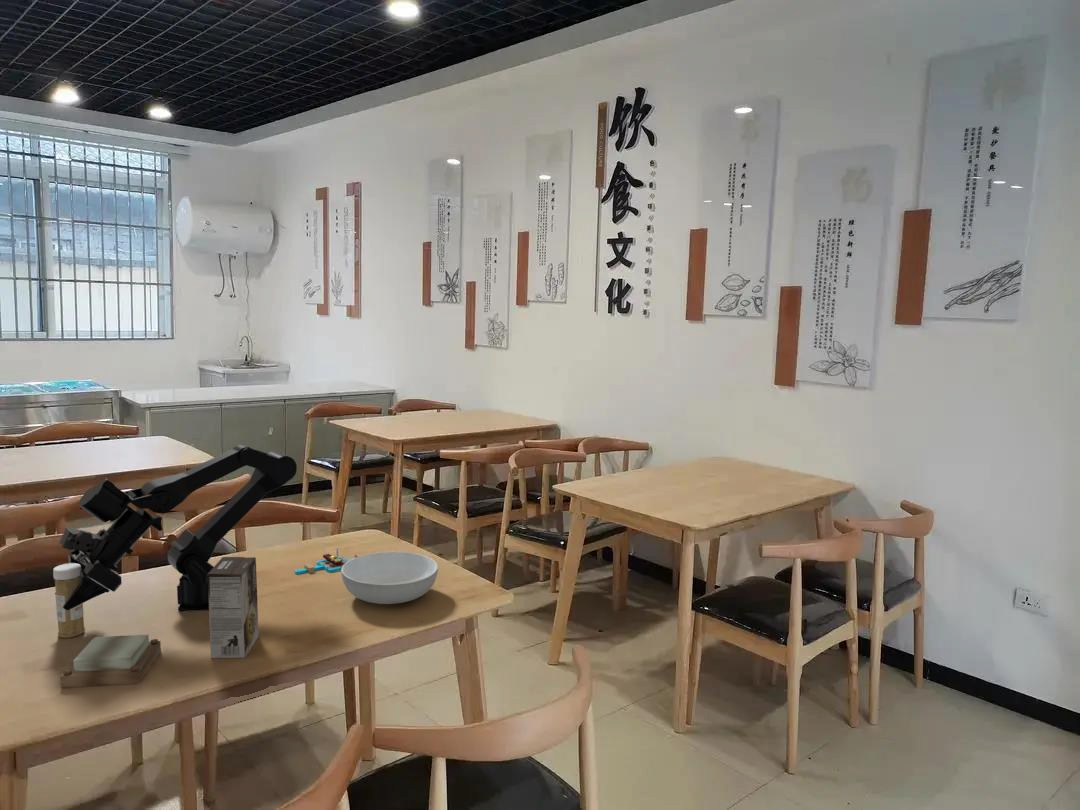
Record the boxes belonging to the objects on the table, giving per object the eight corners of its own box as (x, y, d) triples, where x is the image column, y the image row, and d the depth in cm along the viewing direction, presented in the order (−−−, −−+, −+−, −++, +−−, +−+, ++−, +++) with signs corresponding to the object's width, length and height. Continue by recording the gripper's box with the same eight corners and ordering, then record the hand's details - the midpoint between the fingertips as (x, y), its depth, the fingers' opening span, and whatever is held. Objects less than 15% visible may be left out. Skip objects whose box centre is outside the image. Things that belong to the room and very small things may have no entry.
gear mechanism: (286, 569, 187) (301, 580, 180) (286, 548, 186) (301, 558, 179) (363, 553, 199) (379, 563, 192) (362, 533, 199) (379, 542, 191)
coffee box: (225, 637, 148) (222, 556, 146) (259, 636, 149) (257, 555, 147) (209, 659, 139) (205, 573, 137) (245, 658, 140) (243, 572, 138)
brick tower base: (160, 651, 142) (159, 630, 141) (138, 683, 130) (137, 660, 130) (90, 654, 140) (88, 634, 139) (61, 687, 128) (59, 665, 128)
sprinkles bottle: (85, 635, 148) (81, 567, 146) (57, 640, 145) (53, 572, 143) (84, 626, 152) (80, 560, 150) (57, 631, 149) (52, 564, 147)
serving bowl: (371, 624, 156) (371, 591, 155) (325, 593, 171) (324, 563, 170) (456, 599, 169) (456, 569, 168) (406, 573, 185) (406, 545, 184)
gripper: (77, 501, 155) (15, 566, 149) (98, 523, 141) (30, 595, 135) (123, 532, 161) (65, 595, 155) (147, 556, 147) (84, 626, 141)
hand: (60, 602), depth 147 cm, fingers open, 8 cm apart
